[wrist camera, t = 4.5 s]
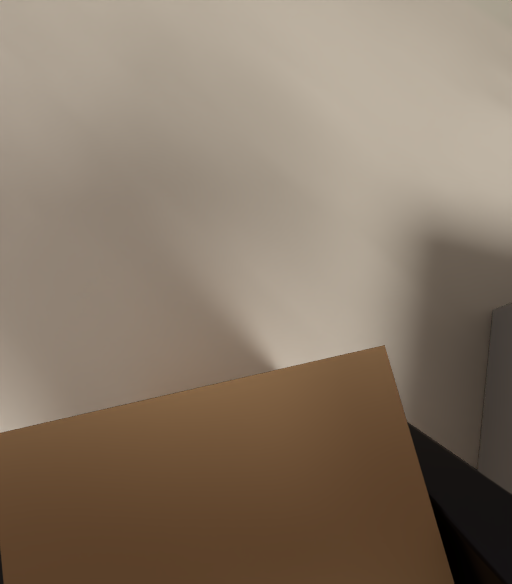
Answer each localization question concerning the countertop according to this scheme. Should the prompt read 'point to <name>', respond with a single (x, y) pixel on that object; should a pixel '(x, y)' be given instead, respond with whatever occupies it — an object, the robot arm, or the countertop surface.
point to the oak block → (227, 486)
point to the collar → (498, 403)
